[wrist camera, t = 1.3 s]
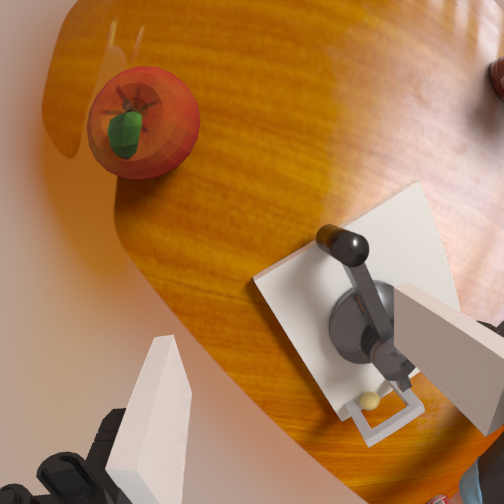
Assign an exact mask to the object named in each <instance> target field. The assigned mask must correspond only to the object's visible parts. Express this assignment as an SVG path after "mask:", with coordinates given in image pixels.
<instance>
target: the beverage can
mask: <svg viewBox="0 0 504 504" xmlns="http://www.w3.org/2000/svg"><path fill="white" fill-rule="evenodd" d="M427 504H452V503H451V502H450V500H449V499H448V497H447V496H446V495H438V496H436V497H434V498H433V499H431V500H430V501H429V502H428V503H427Z"/></svg>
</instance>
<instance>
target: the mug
mask: <svg viewBox="0 0 504 504" xmlns="http://www.w3.org/2000/svg"><path fill="white" fill-rule="evenodd" d="M490 76H491V81H492V84H493V86H494V89H495V90H496V92H497V94H498V95H499V96H500V98H501V99H502V100H503V101H504V56H501V57H499V58H498V59H496V60H495V61H493V62H492V64H491V67H490Z"/></svg>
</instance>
